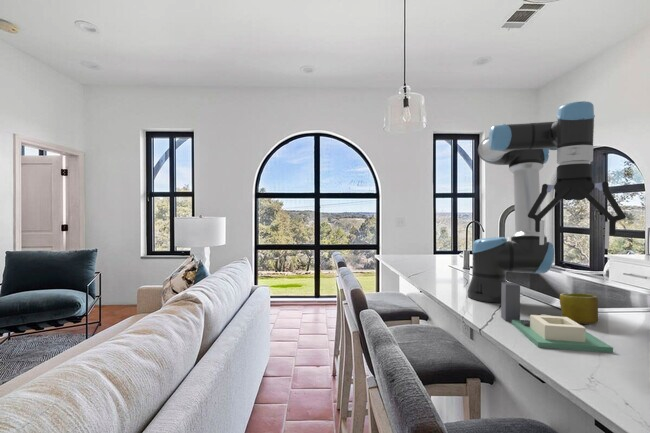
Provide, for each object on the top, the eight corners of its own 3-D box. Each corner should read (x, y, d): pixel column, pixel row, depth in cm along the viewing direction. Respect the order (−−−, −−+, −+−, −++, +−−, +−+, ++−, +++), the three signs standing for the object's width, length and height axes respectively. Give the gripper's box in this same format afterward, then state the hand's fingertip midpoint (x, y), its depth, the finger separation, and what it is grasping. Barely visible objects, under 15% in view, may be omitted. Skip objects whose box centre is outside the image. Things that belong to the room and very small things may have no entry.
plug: (500, 316, 107) (501, 281, 107) (514, 317, 106) (514, 282, 106) (505, 321, 103) (505, 284, 103) (519, 321, 102) (520, 285, 102)
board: (511, 323, 100) (512, 307, 100) (572, 327, 97) (572, 311, 97) (537, 347, 82) (538, 327, 82) (613, 352, 79) (613, 332, 79)
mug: (614, 322, 96) (598, 287, 99) (576, 330, 98) (561, 296, 101) (593, 318, 108) (579, 287, 110) (559, 325, 110) (546, 295, 112)
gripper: (516, 166, 92) (515, 244, 93) (641, 158, 76) (639, 251, 77) (521, 169, 98) (520, 242, 99) (638, 161, 82) (636, 248, 83)
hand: (572, 246), depth 88 cm, fingers open, 13 cm apart
